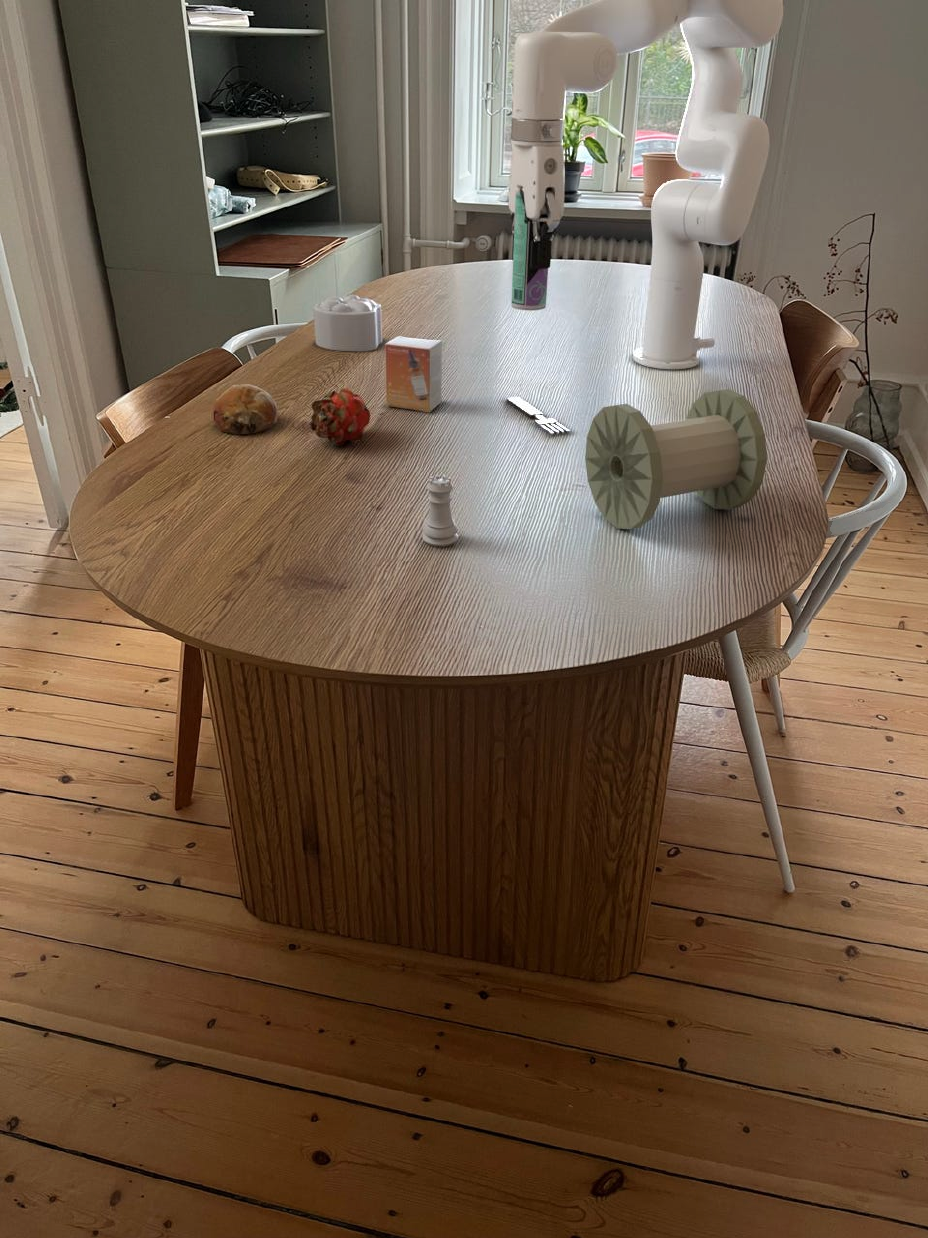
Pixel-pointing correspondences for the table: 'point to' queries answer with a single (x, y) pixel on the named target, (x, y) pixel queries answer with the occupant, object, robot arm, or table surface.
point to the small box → (413, 373)
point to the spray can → (526, 262)
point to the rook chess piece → (440, 514)
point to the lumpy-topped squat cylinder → (348, 324)
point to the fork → (537, 417)
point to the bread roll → (244, 410)
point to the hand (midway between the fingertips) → (530, 263)
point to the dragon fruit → (340, 417)
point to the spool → (675, 457)
